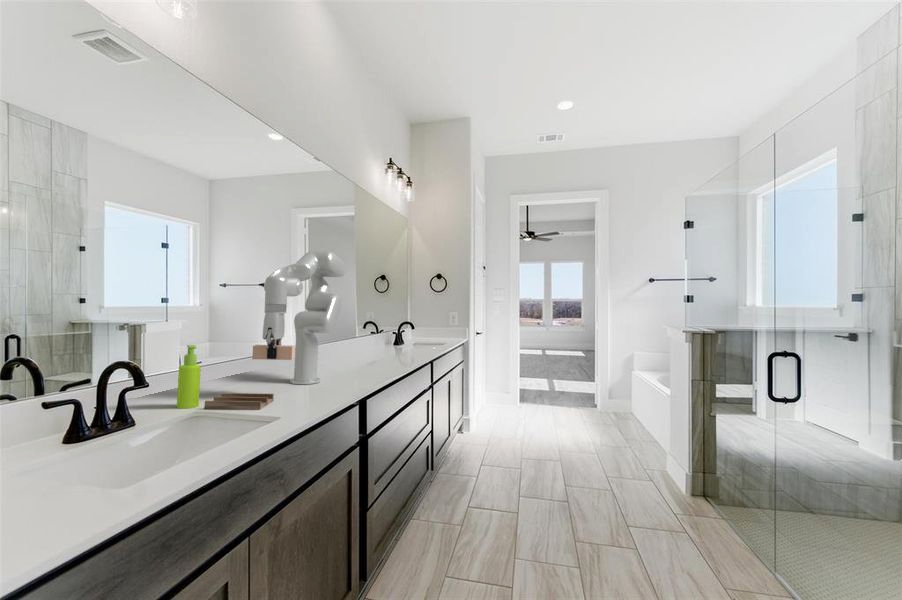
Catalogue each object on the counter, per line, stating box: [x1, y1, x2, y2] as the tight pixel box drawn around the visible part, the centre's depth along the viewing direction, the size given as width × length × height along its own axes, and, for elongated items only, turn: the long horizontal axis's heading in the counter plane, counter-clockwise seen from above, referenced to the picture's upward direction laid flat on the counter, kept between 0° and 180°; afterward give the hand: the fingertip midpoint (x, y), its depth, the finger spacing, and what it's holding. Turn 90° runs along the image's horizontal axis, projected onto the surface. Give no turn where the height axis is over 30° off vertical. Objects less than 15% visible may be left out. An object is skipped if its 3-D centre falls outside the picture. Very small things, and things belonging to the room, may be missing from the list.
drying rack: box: [203, 392, 275, 411], centre depth 128 cm, size 12×17×2 cm
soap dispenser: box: [176, 344, 202, 410], centre depth 124 cm, size 6×7×20 cm
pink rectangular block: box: [251, 344, 295, 361], centre depth 144 cm, size 4×14×5 cm, turn 96°
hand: (273, 357), depth 144 cm, fingers closed on pink rectangular block, 3 cm apart
